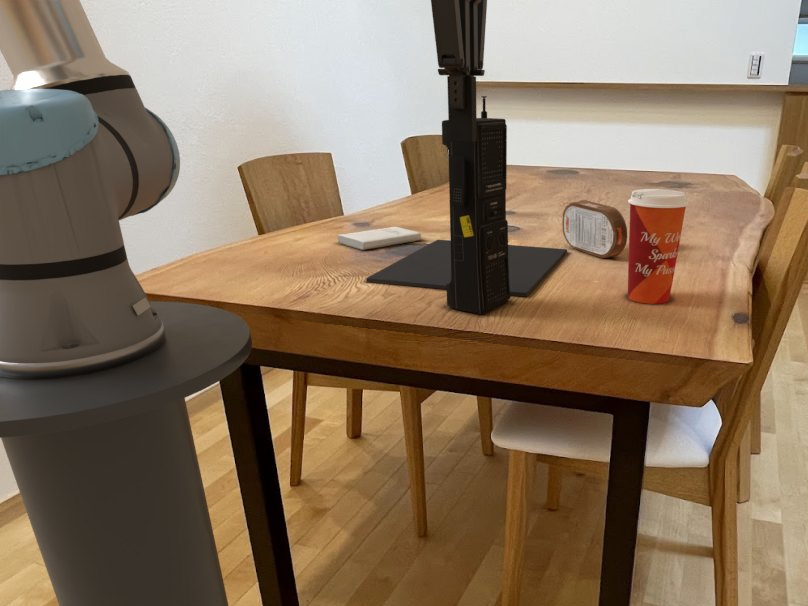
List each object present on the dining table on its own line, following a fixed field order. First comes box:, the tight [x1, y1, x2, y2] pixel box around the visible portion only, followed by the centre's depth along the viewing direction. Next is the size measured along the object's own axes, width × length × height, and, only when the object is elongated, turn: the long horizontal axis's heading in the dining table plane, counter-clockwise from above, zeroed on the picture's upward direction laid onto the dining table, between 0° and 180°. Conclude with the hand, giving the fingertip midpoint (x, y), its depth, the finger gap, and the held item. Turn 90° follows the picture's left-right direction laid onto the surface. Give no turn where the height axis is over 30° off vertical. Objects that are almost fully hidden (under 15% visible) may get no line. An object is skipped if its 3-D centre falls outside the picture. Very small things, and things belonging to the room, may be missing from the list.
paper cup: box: [627, 188, 690, 305], centre depth 87 cm, size 8×8×14 cm
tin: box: [561, 199, 628, 259], centre depth 113 cm, size 15×3×8 cm, turn 32°
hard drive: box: [337, 226, 422, 251], centre depth 120 cm, size 2×8×12 cm
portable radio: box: [441, 95, 511, 315], centre depth 81 cm, size 8×6×25 cm
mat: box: [365, 239, 568, 298], centre depth 105 cm, size 24×28×1 cm
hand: (463, 141), depth 73 cm, fingers closed
